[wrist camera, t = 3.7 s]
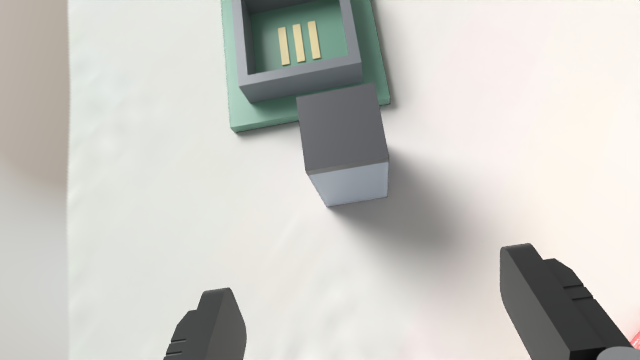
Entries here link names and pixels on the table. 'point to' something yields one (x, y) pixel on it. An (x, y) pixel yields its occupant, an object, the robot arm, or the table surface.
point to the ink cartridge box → (636, 341)
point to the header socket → (295, 55)
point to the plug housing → (344, 144)
